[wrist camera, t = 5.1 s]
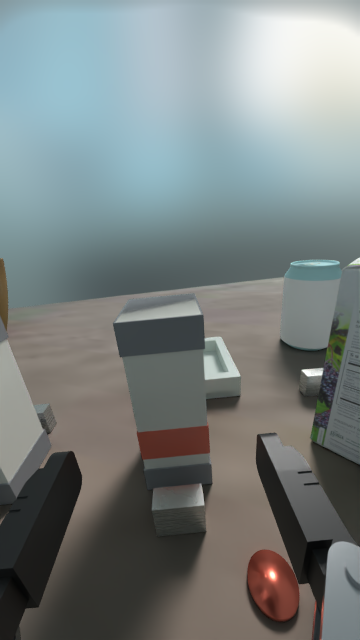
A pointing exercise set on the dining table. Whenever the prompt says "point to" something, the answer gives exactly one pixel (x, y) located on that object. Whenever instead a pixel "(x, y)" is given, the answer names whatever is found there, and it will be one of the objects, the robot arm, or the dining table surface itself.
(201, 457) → the marked fuse
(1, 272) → the plant pot
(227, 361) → the tray
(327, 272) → the can
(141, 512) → the dining table surface
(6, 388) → the block
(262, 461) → the robot arm
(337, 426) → the syrup box
